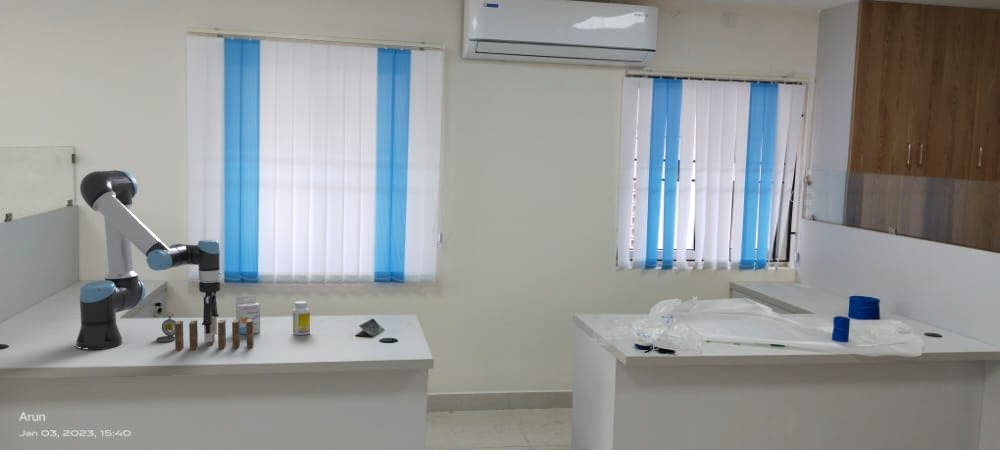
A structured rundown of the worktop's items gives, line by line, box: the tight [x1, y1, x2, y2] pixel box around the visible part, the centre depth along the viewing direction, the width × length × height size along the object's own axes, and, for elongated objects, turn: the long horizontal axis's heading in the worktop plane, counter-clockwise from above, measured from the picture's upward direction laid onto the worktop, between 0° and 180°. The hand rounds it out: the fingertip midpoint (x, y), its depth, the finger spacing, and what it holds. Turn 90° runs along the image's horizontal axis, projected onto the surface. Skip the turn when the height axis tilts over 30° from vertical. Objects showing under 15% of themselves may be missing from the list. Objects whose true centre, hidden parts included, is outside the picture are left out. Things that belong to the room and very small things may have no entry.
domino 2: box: [188, 320, 199, 351], centre depth 292 cm, size 2×5×10 cm, turn 12°
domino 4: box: [231, 318, 241, 350], centre depth 295 cm, size 2×5×10 cm, turn 12°
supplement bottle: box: [292, 300, 311, 336], centre depth 317 cm, size 7×7×13 cm
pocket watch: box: [155, 312, 177, 343], centre depth 304 cm, size 8×8×10 cm
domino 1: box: [174, 320, 185, 352], centre depth 290 cm, size 2×5×10 cm, turn 12°
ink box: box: [235, 294, 261, 335], centre depth 317 cm, size 8×5×15 cm, turn 123°
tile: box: [206, 316, 216, 346], centre depth 299 cm, size 2×5×10 cm, turn 12°
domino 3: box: [217, 319, 227, 350], centre depth 294 cm, size 2×5×10 cm, turn 12°
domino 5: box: [245, 319, 255, 349], centre depth 296 cm, size 2×5×10 cm, turn 12°
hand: (210, 337), depth 300 cm, fingers open, 11 cm apart
